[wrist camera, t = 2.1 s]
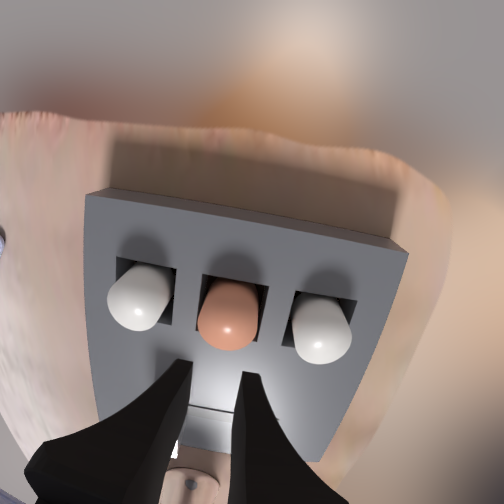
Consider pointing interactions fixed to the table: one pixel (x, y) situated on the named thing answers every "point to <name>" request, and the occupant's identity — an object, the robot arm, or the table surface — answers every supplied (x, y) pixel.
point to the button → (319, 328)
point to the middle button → (229, 314)
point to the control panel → (269, 319)
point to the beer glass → (188, 487)
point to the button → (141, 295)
